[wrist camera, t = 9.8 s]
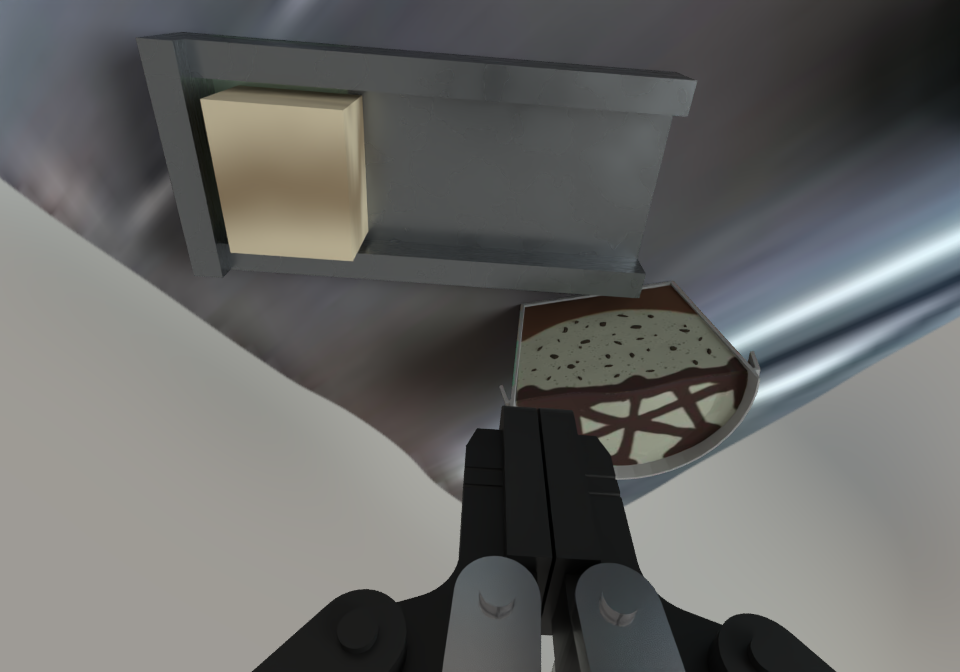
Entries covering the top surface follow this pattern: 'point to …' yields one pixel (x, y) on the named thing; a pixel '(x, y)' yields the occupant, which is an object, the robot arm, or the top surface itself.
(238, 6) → the top surface
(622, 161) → the chute
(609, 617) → the robot arm
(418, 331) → the top surface
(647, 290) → the food container
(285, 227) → the beech block
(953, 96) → the top surface
